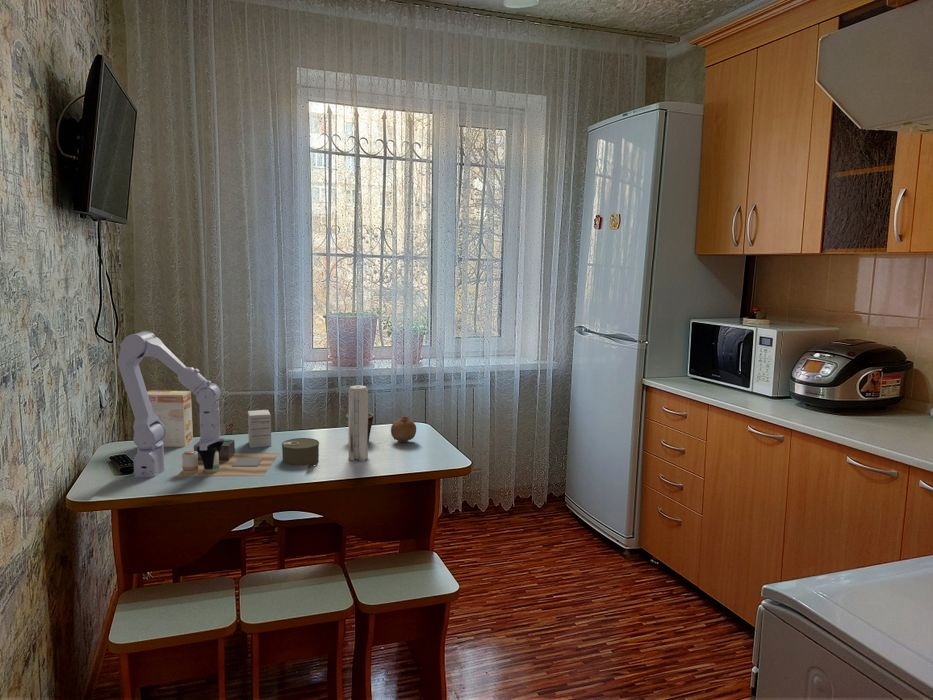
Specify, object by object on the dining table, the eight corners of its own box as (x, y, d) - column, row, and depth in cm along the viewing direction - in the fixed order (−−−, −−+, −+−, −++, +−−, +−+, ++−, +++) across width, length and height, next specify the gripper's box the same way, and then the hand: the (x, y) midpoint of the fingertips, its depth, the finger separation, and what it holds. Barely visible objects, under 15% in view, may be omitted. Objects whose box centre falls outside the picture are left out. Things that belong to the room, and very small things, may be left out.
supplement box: (248, 444, 231) (247, 410, 230) (269, 443, 234) (268, 409, 232) (249, 450, 225) (248, 415, 223) (271, 448, 227) (271, 413, 226)
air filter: (371, 457, 220) (371, 386, 216) (359, 462, 214) (359, 389, 211) (357, 454, 223) (357, 383, 219) (344, 459, 217) (344, 386, 214)
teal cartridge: (216, 472, 198) (216, 453, 197) (201, 472, 198) (201, 453, 197) (221, 468, 202) (220, 448, 202) (206, 468, 202) (205, 449, 201)
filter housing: (228, 460, 210) (228, 445, 209) (194, 460, 209) (193, 445, 208) (235, 453, 217) (234, 438, 217) (201, 453, 216) (201, 438, 216)
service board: (263, 478, 197) (263, 475, 196) (175, 479, 194) (175, 476, 194) (279, 455, 219) (279, 453, 219) (200, 456, 217) (200, 453, 217)
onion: (418, 445, 235) (418, 418, 234) (392, 446, 233) (392, 420, 231) (413, 438, 244) (413, 412, 243) (388, 439, 242) (389, 413, 240)
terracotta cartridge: (195, 474, 196) (194, 454, 196) (180, 474, 196) (179, 454, 195) (200, 469, 201) (199, 450, 200) (185, 469, 201) (184, 450, 200)
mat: (257, 466, 205) (257, 465, 205) (231, 466, 204) (231, 465, 204) (263, 458, 213) (263, 457, 213) (238, 458, 212) (238, 457, 212)
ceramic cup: (346, 438, 243) (346, 412, 241) (372, 437, 244) (372, 411, 243) (346, 448, 230) (346, 421, 229) (374, 447, 232) (374, 420, 230)
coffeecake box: (193, 443, 231) (191, 390, 228) (184, 449, 224) (182, 394, 221) (152, 442, 231) (150, 389, 229) (142, 448, 224) (139, 393, 222)
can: (315, 469, 207) (315, 448, 206) (278, 468, 207) (277, 448, 206) (322, 457, 219) (322, 438, 218) (286, 457, 218) (286, 437, 217)
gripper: (216, 429, 191) (217, 473, 193) (229, 417, 205) (231, 458, 207) (191, 429, 190) (193, 473, 192) (207, 417, 205) (208, 458, 207)
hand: (211, 466), depth 200 cm, fingers closed on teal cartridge, 4 cm apart
